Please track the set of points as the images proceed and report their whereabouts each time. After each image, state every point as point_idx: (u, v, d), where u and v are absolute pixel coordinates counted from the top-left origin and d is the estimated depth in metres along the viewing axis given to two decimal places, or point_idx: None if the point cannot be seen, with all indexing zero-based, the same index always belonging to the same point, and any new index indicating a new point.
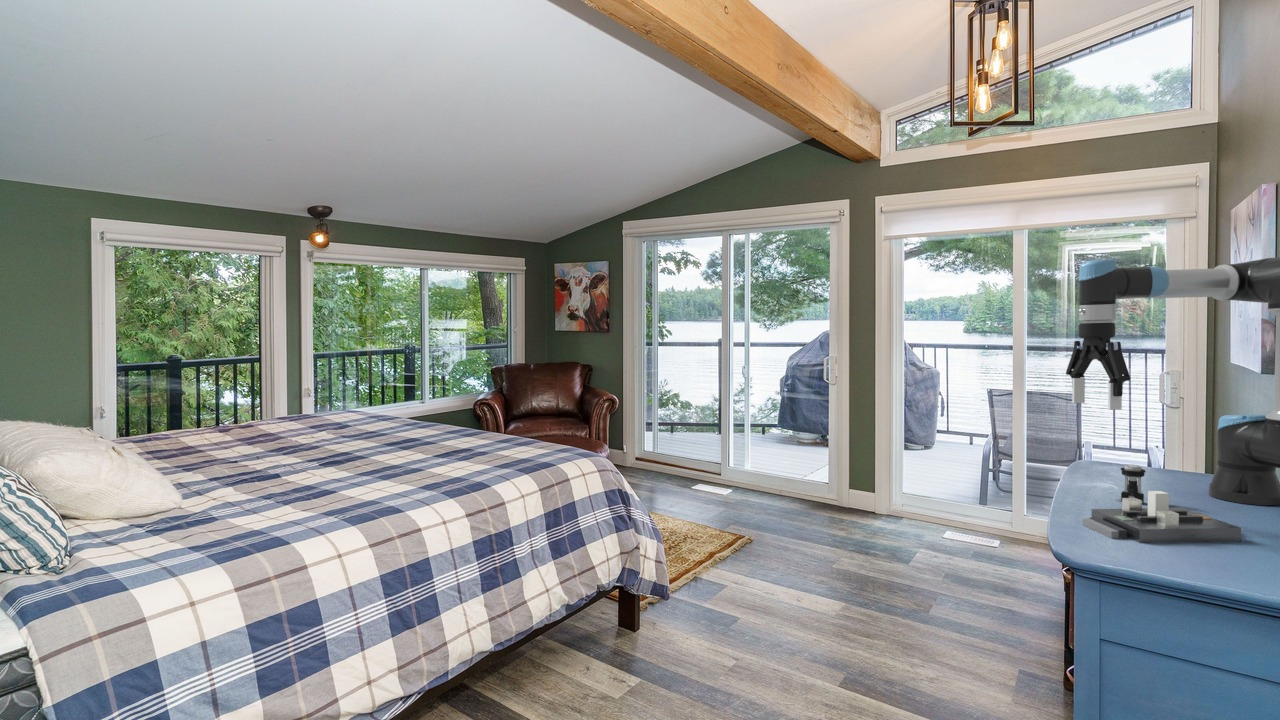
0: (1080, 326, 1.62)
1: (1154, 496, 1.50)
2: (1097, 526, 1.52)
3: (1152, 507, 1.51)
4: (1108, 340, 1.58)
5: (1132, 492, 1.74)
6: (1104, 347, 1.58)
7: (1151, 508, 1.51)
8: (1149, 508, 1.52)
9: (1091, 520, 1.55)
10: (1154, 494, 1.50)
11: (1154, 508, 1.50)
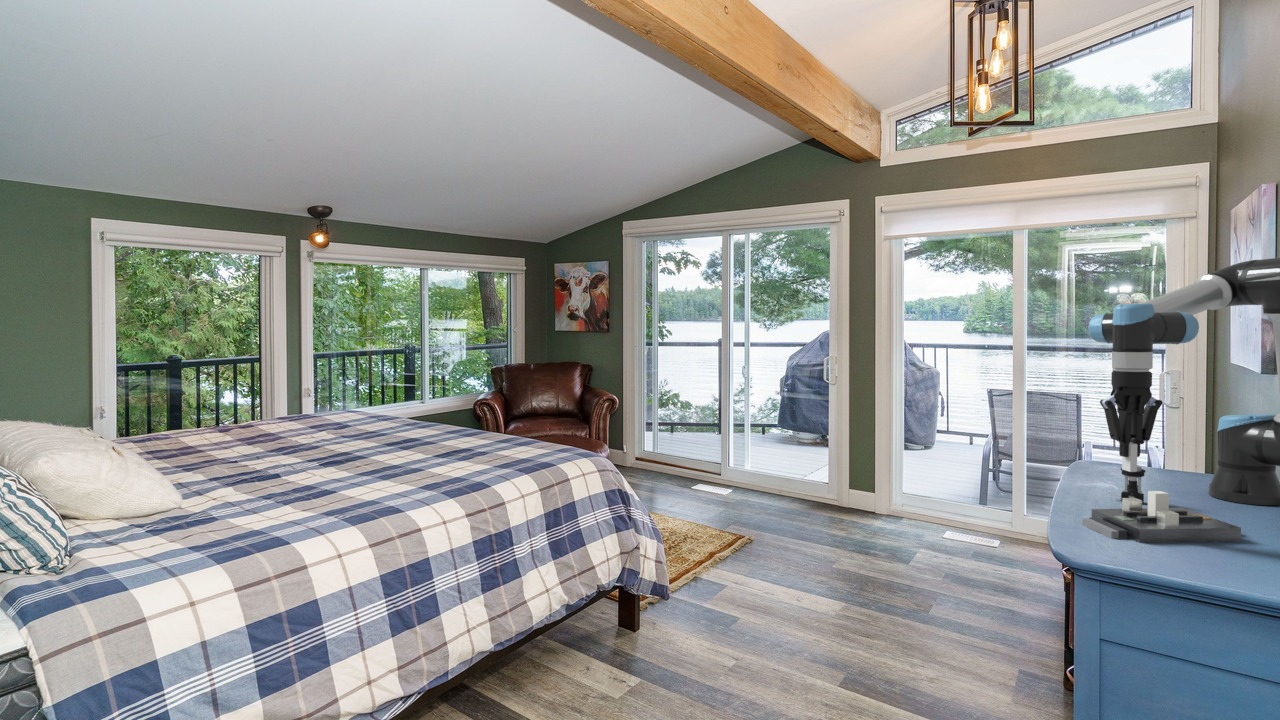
0: None
1: (1154, 496, 1.50)
2: (1097, 526, 1.52)
3: (1152, 507, 1.51)
4: (1115, 390, 1.50)
5: (1132, 492, 1.74)
6: None
7: (1151, 508, 1.51)
8: (1149, 508, 1.52)
9: (1091, 520, 1.55)
10: (1154, 494, 1.50)
11: (1154, 508, 1.50)
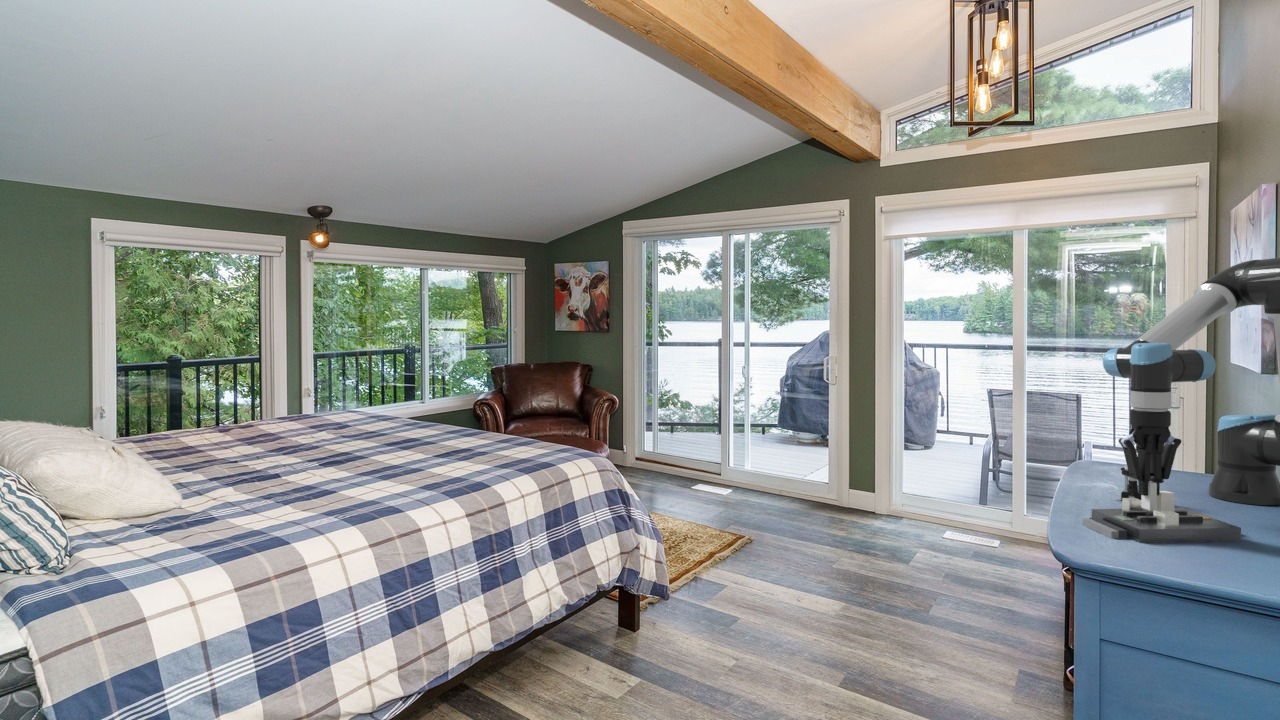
0: None
1: (1160, 496, 1.50)
2: (1097, 526, 1.52)
3: (1158, 507, 1.51)
4: (1134, 429, 1.50)
5: (1132, 492, 1.74)
6: None
7: (1157, 508, 1.51)
8: None
9: (1091, 520, 1.55)
10: (1160, 494, 1.50)
11: (1160, 508, 1.50)
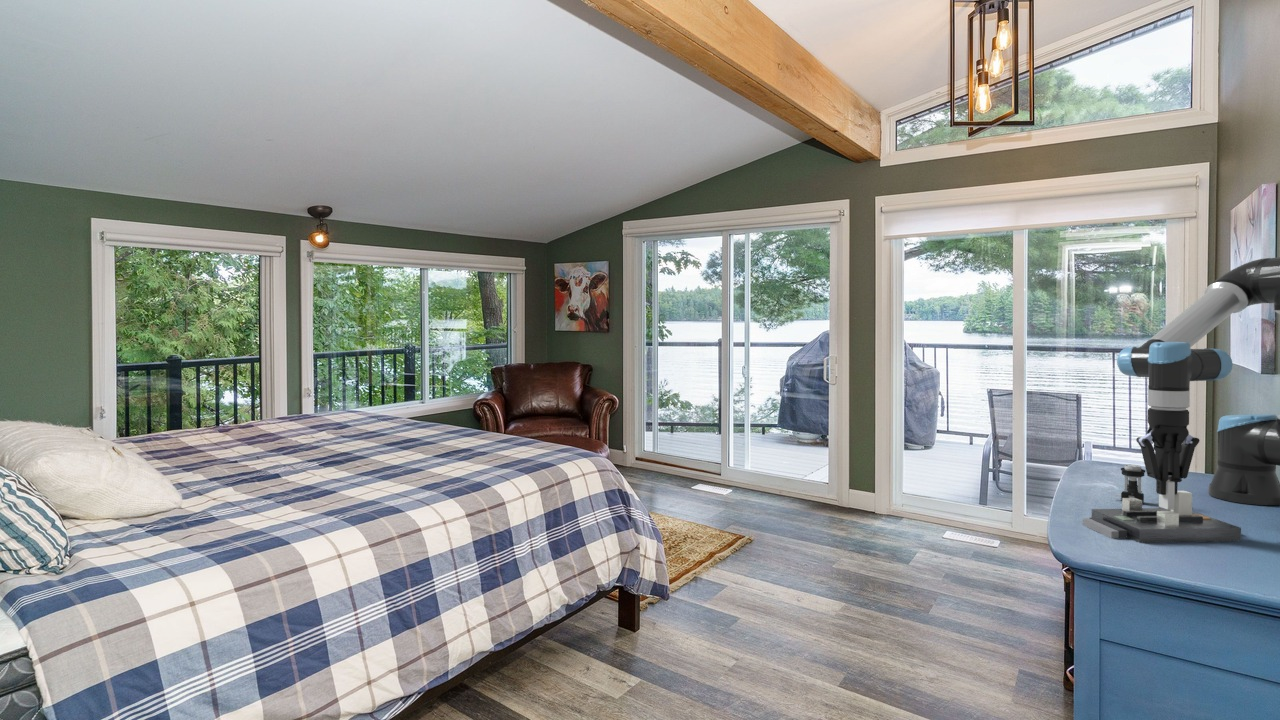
0: None
1: (1177, 496, 1.50)
2: (1097, 526, 1.52)
3: (1175, 507, 1.51)
4: (1152, 428, 1.50)
5: (1132, 492, 1.74)
6: None
7: (1174, 508, 1.51)
8: None
9: (1091, 520, 1.55)
10: (1177, 494, 1.50)
11: (1177, 508, 1.50)
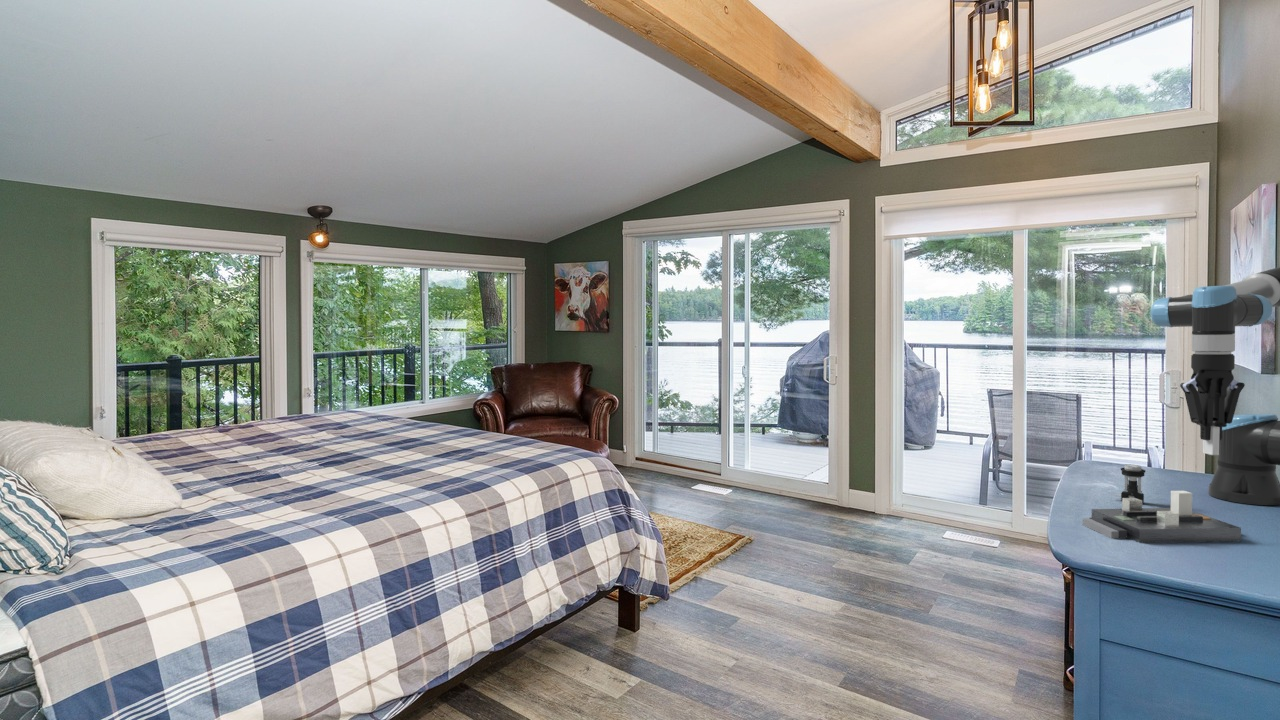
0: None
1: (1177, 496, 1.50)
2: (1097, 526, 1.52)
3: (1175, 507, 1.51)
4: (1197, 373, 1.49)
5: (1132, 492, 1.74)
6: None
7: (1174, 508, 1.51)
8: (1172, 508, 1.52)
9: (1091, 520, 1.55)
10: (1177, 494, 1.50)
11: (1177, 508, 1.50)
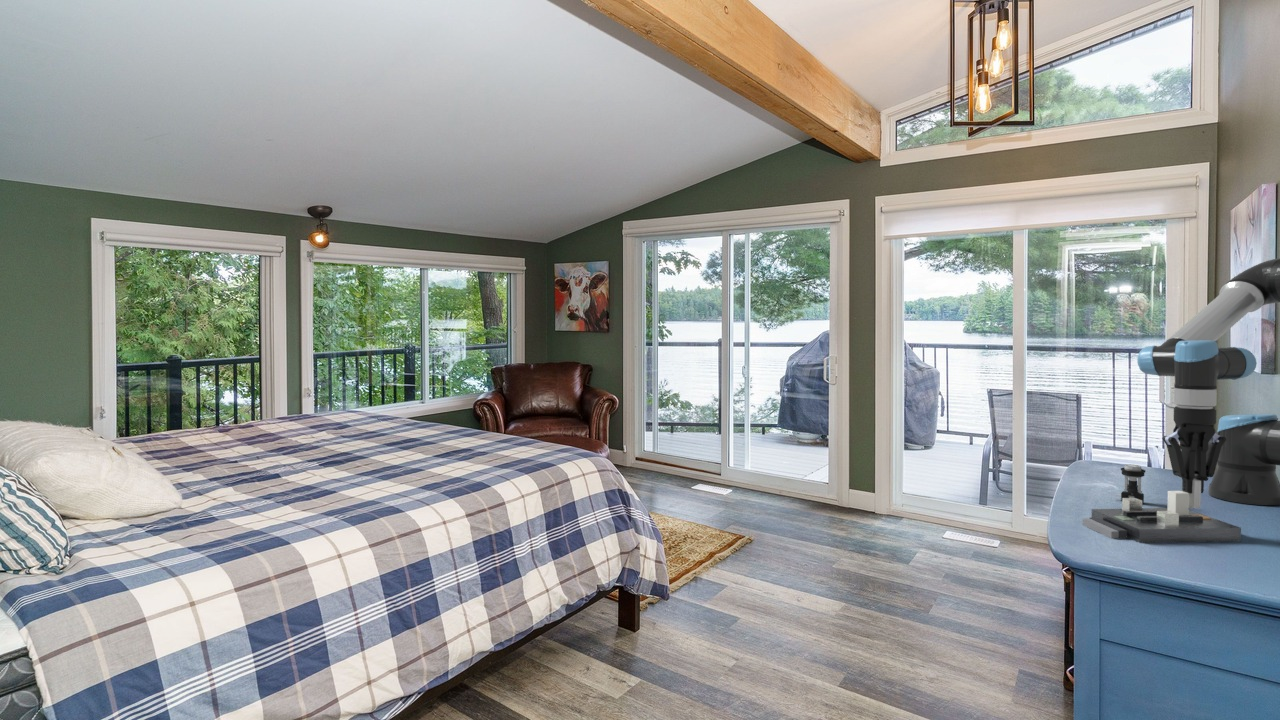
0: None
1: (1174, 496, 1.50)
2: (1097, 526, 1.52)
3: (1172, 507, 1.51)
4: (1179, 426, 1.50)
5: (1132, 492, 1.74)
6: (1173, 433, 1.51)
7: (1171, 508, 1.51)
8: (1169, 508, 1.52)
9: (1091, 520, 1.55)
10: (1174, 494, 1.50)
11: (1174, 508, 1.50)
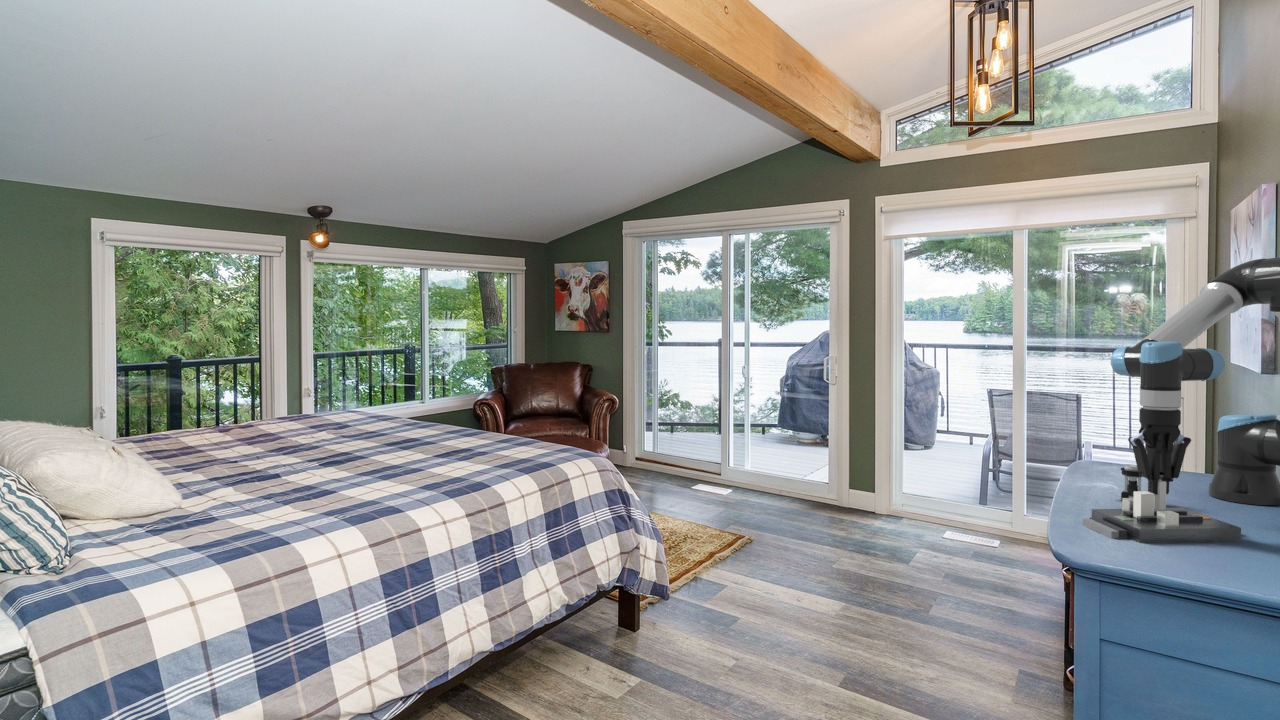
0: None
1: (1140, 497, 1.50)
2: (1097, 526, 1.52)
3: (1138, 507, 1.51)
4: (1144, 427, 1.50)
5: (1132, 492, 1.74)
6: (1139, 434, 1.51)
7: (1137, 508, 1.51)
8: (1135, 508, 1.52)
9: (1091, 520, 1.55)
10: (1139, 494, 1.50)
11: (1139, 508, 1.51)
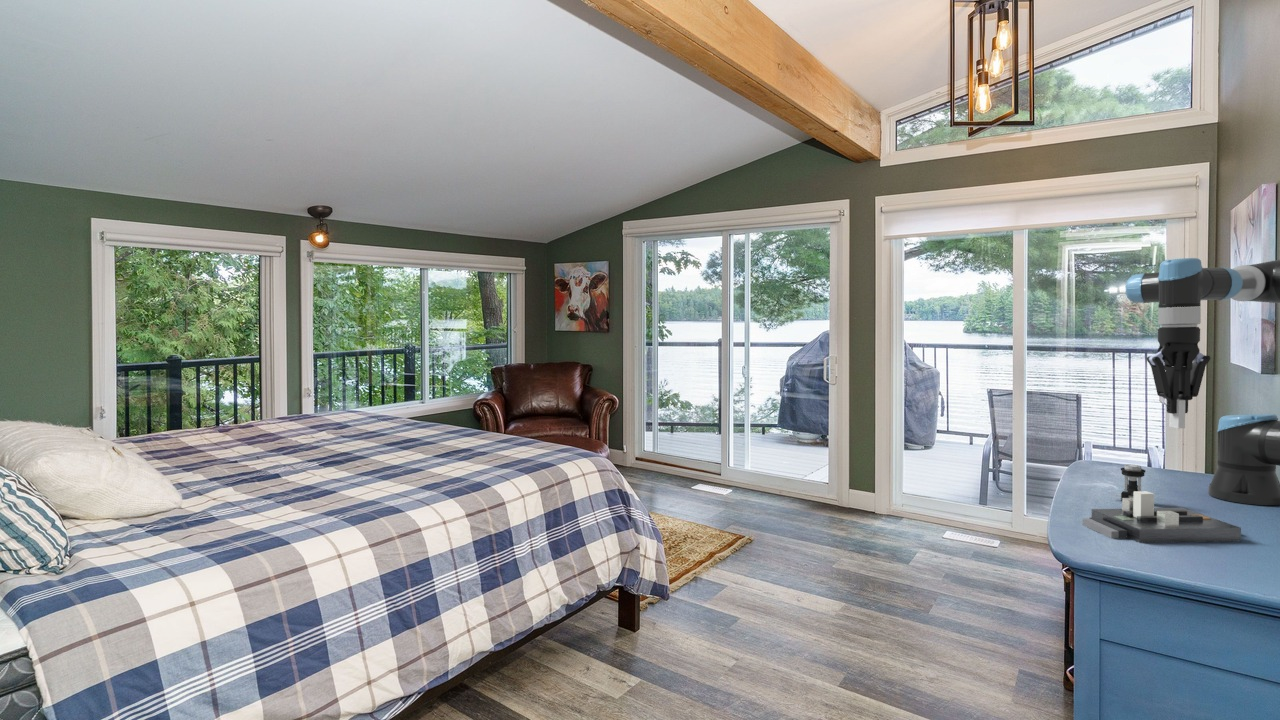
0: None
1: (1139, 497, 1.50)
2: (1097, 526, 1.52)
3: (1137, 507, 1.51)
4: (1163, 346, 1.49)
5: (1132, 492, 1.74)
6: (1158, 353, 1.50)
7: (1137, 508, 1.51)
8: (1135, 508, 1.52)
9: (1091, 520, 1.55)
10: (1139, 494, 1.50)
11: (1139, 508, 1.51)
